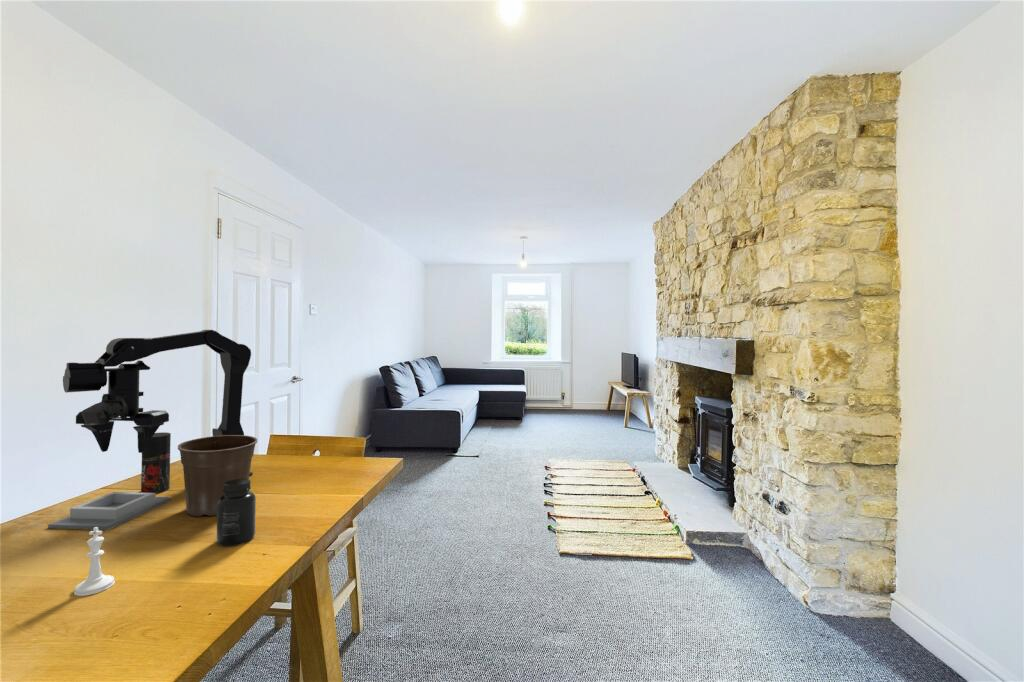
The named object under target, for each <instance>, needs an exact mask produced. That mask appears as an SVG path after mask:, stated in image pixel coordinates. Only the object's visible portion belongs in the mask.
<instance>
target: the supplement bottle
mask: <svg viewBox="0 0 1024 682" xmlns="http://www.w3.org/2000/svg"><path fill="white" fill-rule="evenodd" d="M251 483H252V482H251V480H250V478H249V479H235V480H230V481H227V482H225V483H224V485H223V494H224V495H223V496H222V497H221V498H220V499H219V500H218V502H217V515H216V543H217V544H218V545H220V546H221V547H222V546H223V547H233V546H238V545H242V544H245V543H247V542H250V541H251V540H252V539H254V537H255V535H256V516H257V513H256V510H257V509H256V508H257V507H256V505H257V502H256V501H257V499H256V498H257V497H256V494H255V493H254V492H252V491H251V488H252V487H251Z"/></svg>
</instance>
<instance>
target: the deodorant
mask: <svg viewBox="0 0 1024 682" xmlns="http://www.w3.org/2000/svg"><path fill="white" fill-rule="evenodd" d="M171 434H172V433H170V432H165V431H164V432H155V433H154V435H153V437H152V438H151V440H150V442H149V443H148V445H147V447H146V449H145V450H144V452H142V453H141V470H140V471H141V473H140V474H141V475H140V476H141V477H140V479H141V480H140V481H141V482H140V483H141V485H140V493H155V495H156V494H161V493H164V492H166V491H168V490H170V488H171V487H170V486H171V485H170V484H171V483H170V481H171V480H170V479H171V437H172V435H171Z"/></svg>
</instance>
